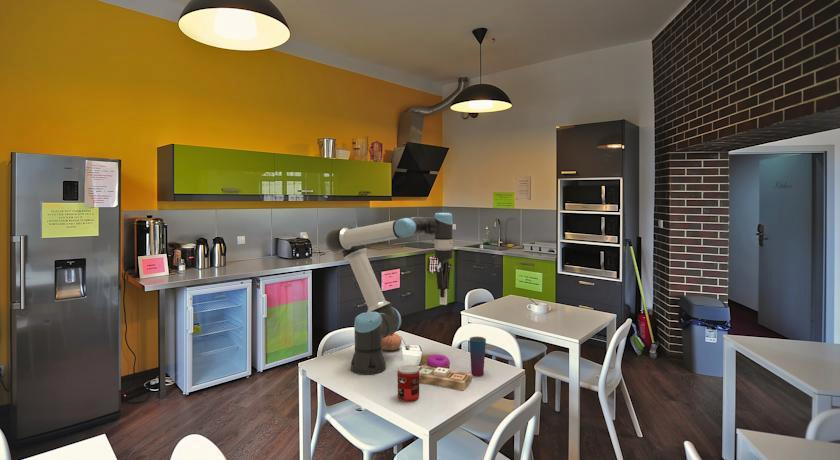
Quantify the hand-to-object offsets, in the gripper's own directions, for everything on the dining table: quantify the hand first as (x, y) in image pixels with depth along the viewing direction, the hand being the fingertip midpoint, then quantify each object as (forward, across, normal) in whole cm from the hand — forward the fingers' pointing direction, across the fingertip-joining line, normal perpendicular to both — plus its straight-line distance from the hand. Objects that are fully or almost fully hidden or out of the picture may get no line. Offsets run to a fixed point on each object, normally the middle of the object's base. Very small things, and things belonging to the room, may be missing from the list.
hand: (443, 304), depth 191 cm
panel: (+28, -12, -4) cm, 31 cm away
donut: (+29, +2, +3) cm, 29 cm away
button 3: (+28, -12, -11) cm, 32 cm away
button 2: (+26, -12, -4) cm, 29 cm away
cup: (+29, +1, -15) cm, 32 cm away
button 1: (+28, -12, +3) cm, 30 cm away
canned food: (+29, -31, +2) cm, 42 cm away
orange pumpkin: (+29, +14, +33) cm, 46 cm away
